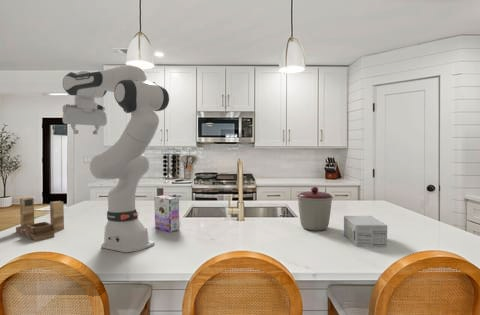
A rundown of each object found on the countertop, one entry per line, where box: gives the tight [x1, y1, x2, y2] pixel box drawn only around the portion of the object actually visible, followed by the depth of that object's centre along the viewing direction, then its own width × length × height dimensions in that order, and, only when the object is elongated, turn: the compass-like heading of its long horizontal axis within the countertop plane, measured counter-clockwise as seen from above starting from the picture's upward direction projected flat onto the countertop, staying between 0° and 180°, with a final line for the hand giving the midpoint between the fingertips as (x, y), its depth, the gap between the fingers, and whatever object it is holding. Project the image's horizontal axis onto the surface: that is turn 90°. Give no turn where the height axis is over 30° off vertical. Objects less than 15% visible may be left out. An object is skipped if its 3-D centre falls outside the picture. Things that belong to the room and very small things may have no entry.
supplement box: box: [343, 215, 388, 248], centre depth 137 cm, size 17×13×9 cm
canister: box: [296, 186, 334, 232], centre depth 158 cm, size 18×18×21 cm
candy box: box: [154, 194, 180, 233], centre depth 157 cm, size 14×6×16 cm, turn 47°
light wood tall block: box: [49, 200, 65, 232], centre depth 158 cm, size 5×4×14 cm
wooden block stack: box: [15, 196, 55, 242], centre depth 149 cm, size 24×8×16 cm, turn 52°
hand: (85, 134), depth 153 cm, fingers open, 8 cm apart
